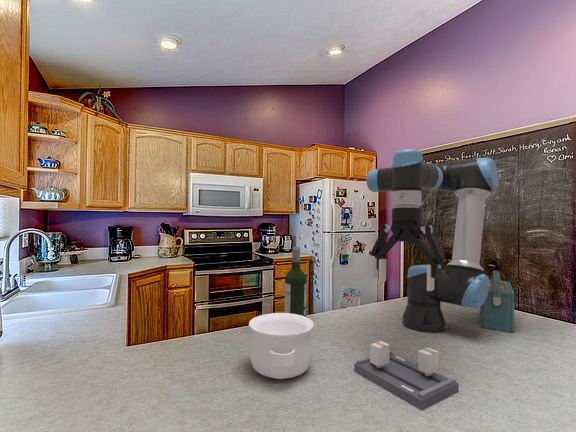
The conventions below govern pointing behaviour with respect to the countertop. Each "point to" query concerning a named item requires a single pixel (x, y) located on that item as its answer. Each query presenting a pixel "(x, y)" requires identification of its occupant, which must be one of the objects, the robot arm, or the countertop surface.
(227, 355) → the countertop surface
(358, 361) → the console
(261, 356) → the pot
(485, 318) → the teal lunch box
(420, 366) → the fader high
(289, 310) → the wine bottle
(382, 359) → the fader low
